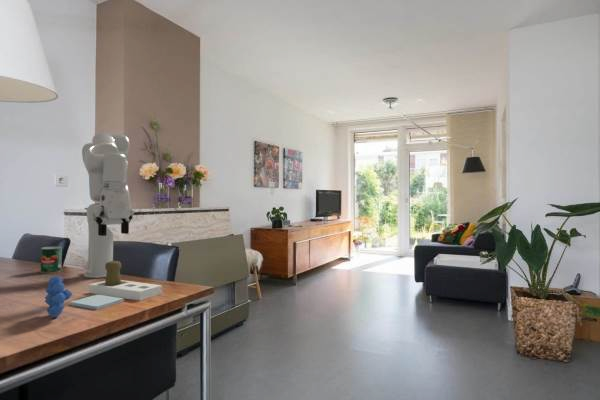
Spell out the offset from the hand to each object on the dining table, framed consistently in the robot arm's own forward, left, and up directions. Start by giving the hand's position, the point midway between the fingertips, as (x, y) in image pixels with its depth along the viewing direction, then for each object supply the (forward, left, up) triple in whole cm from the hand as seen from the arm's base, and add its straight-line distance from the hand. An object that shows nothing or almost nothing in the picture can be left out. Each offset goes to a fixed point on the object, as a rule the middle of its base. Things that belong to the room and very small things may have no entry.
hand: (113, 234), depth 132 cm
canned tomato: (-54, +14, -21) cm, 60 cm away
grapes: (+10, -27, -21) cm, 36 cm away
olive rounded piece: (0, 0, -21) cm, 21 cm away
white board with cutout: (+6, 0, -21) cm, 22 cm away
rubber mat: (+8, -13, -21) cm, 26 cm away
